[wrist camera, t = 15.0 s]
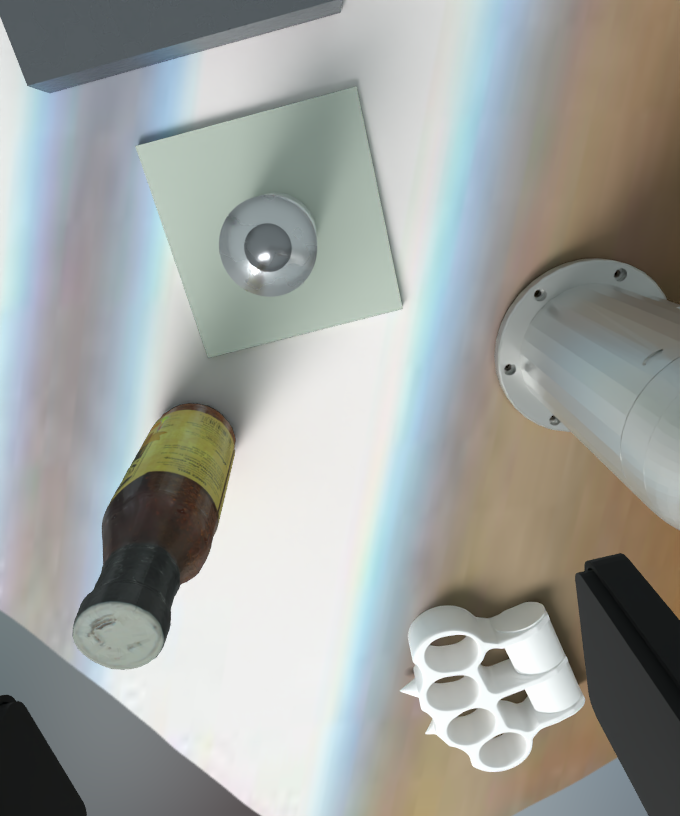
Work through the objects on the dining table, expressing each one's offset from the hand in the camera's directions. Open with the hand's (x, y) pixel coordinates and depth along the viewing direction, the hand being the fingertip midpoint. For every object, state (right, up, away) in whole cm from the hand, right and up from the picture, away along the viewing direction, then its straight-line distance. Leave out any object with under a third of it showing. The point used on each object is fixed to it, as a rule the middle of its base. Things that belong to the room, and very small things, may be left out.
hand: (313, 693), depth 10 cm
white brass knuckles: (+13, -19, +45) cm, 51 cm away
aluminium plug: (-4, +16, +29) cm, 33 cm away
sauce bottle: (-10, +2, +35) cm, 36 cm away
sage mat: (-4, +16, +29) cm, 34 cm away
